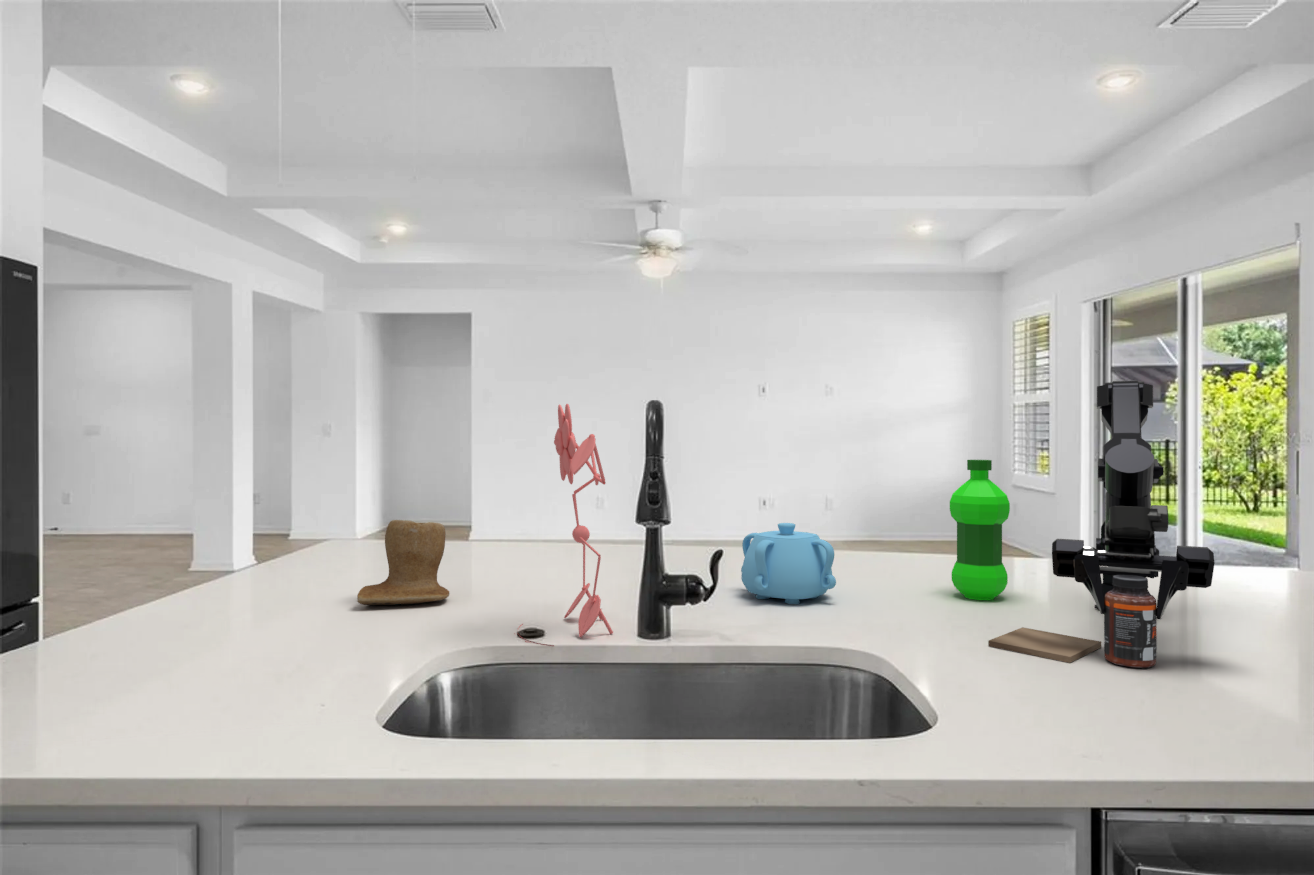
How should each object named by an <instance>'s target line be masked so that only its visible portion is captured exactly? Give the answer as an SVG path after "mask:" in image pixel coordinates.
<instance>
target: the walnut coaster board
mask: <svg viewBox="0 0 1314 875" xmlns="http://www.w3.org/2000/svg"><path fill="white" fill-rule="evenodd" d="M987 642H988V645H987V646H988V647H989V648H995V649H1000V650H1006V651H1010V652H1015V653H1021V654H1025V655H1030V656H1033V657H1039V658H1043V659H1044V658H1045V659H1048V660H1053V661H1054V660H1055V661H1059V662H1064V663H1068V664H1071V663H1073V662H1075V661H1077V660H1080V658H1083V657H1085V656H1086V655H1089V654H1091V653H1093V652H1095V651H1097V650H1099V649H1101V648H1102V641H1100V640H1095V639H1089V638H1085V637H1084V638H1083V637H1078V636H1074V635H1073V636H1072V635H1065V634H1060V633H1055V632H1049V631H1045V630H1038V629H1033V628H1028V627H1023V626H1022V627H1020V628H1017V629H1015V630H1012V631H1009V632H1007V633H1005V634H1002V635H999V636H997V637H994V638H991V639H988V640H987Z"/></svg>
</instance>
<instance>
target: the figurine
mask: <svg viewBox="0 0 1314 875" xmlns="http://www.w3.org/2000/svg"><path fill="white" fill-rule="evenodd" d="M557 420H558V428H557V430H556V432H555V435H554V440H553V444H554V446H555V451H556V453H557V455H558V456H559V471H560V472H559V473H560V478H561V480H562V481H563V482H564V481H565V480H566V478H567V479H568V483H569V484H570V485H573V483H574V476H575V475H576V474H577V473H578V472H579V471H580V470H581V469H582V468H583V467H584V466H585V465H586V466H587V467H588V469H589V470H590V472H591V473H592V475H593V477H592V478H590V480H588V481H587V482H585V483H584V484H582V485H581V486H579V487H578V488H577V489H575V490H573V493H572V494H571V496H572V502H573V510H574V515H575V522H576V526H575V527H574V528H573V530H572V533H571V534H572V538H573V540H574V541H575V542H576V543H578V544H581V545H582V587H581V591H580V592H579V594H577V596H576V598H575V599H574V600H573V602H572V604H571V605H570V607H569V608H568V610H567V611H566V613H565V615H564V617H563V618H564V619H567V618H568V617H569V616H570V615H571V613H573V611H574V610H575V609H576V607H577V606H578V605H579V604H580V601H581V600H582V599H583V597H584V595H586V596H587V597H588V599H587V601H586V602H585V604H584V605H583V607H582V608H581V611H580V613H579V617H578V622H577V623H578V625H577V626H578V635H579V638H583V636H584V635H586V633H587V632H588V631H589V630H590V629H591V628H592V627H593V625H594V624H595V622H596V621H597V619H598V617H599V620H600V621H602V622H603V623H604V625H605V627H606V629H607V631H608V632H609V635H612V634H614V631H613V629H612V627H611V625H610V623H609V622H608V620H607V618H606V616H605V614H604V613H603V611H602V608H601V605H602V604H601V601H602V599H601V598H600V596H599V594H596V589H597V584H598V577H599V571H600V565H601V564H600V563H601V561H602V560H601V559H602V558H601V554H600V553H599V552H598V551H597V550H596V549H594V548H593V546H591V545H590V543H588V542H587V541H588V540H589V539H590V535H591V534H590V533H591V532H590V530H589V528H588V527H586V526H585V525H582V524H581V525H580V522H579V521H580V520H579V514H578V513H579V512H578V504H577V496H576V495H577V494H578V493H579V492H581V491H582V490H583V489H584V488H586V487H588V486H589V485H591V484H592V483H593V482H594V483H595V486H598V485H599V483H601V484H602V485H606V484H607V483H606V477H605V474H604V470H603V466H602V462H601V460H600V455H599V451H598V448H597V444H596V435H595V434H594V433H590V434H589V435H588V437H586V438H585V439H584V440H583V441H582V442H581V443H580V444H578V443H577V441H576V440H577V439H576V437H575V436H576V435H575V434H574V432H573V424H572V422H573V421H572V420H573V419H572V414H571V408H570V405H569V403H566V404H565V406H564V408H563V406H562V405H561V404H559V403H558V406H557ZM590 458H591V463H592V464H591V463H590V461H589V459H590ZM595 460H596V461H595ZM596 465H597V466H596ZM597 468H598V471H599V472H598V471H597ZM586 546H587V547H588V549H590V550H591V551H592V552H593V553H594V554H595V555H596V556H597V563H596V569H595V570H596V571H595V576H594V577H595V578H594V585H593V591H592V594H591V593H590V591H589V588H590V586H591V583H590V582H587V583H586ZM521 626H524V623H522V624H520V625H519V626H518V628H517V631H518V630H519V628H521ZM513 634H514V635H516V633H515V632H513ZM517 635H518V637H520V639H522V640H525V641H524V642H525V643H530V644H532V643H533V644H536V645H542V646H548V647H555V645H553V644H545V643H540V642H535V641H532V640H528V639H527V638H524V637H522V636H521V635H520V634H519V633H517Z"/></svg>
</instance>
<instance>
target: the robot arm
mask: <svg viewBox="0 0 1314 875" xmlns="http://www.w3.org/2000/svg"><path fill="white" fill-rule="evenodd" d="M1153 407H1154V385H1153V384H1149V383H1145V381H1139V380H1113V381H1111V382H1110V381H1109V382H1104V384H1102V385H1098V386H1096V409H1097V410H1100V412H1101V416H1100V417H1101V422H1102V423H1103V425H1104V426H1105V428H1107V430H1108V432H1109V433H1110V434H1111V435H1110V436H1111V437H1110V439H1109V440H1108V441H1106V442H1105V443H1104V444H1103V458H1097V459H1098V460H1097V481H1098V482H1101V483H1102V482H1103V488H1104V489H1105V490H1106V492H1105V495H1104V501H1105V502H1104V512H1105V514H1104V517H1105V518H1104V519H1105V520H1104V522H1103V523H1102V525H1101V526H1100V537H1095V538H1096V540H1095V547H1093V546H1087V545H1086V546H1085V540H1084V539H1069V538H1056V539H1055V540H1054V541H1053V542H1052V544H1051V545H1052V546H1051V558H1052V559H1051V561H1052V575H1055V576H1056V577H1061V578H1072V579H1074V581H1075V582H1077V583H1082V584H1083V585H1084V586H1085V588H1086V590H1087V591H1088V592H1089V593H1090V595H1091V597H1092V598H1093V601H1094V602H1095V604H1094V609H1098V610H1099V612H1100V614H1101V615H1104V614H1105V600H1104V598H1105V594H1106V593H1107V592H1109V591H1111V590H1112V589H1113V588H1114V586H1113V585H1112V583H1113V576H1114V575H1134V576H1141V577H1145V578H1150V579H1155V578H1159V572H1160V579H1159V588H1158V594H1157V599H1156V608H1157V614H1156V615H1157V620H1161V619H1162V617H1163V615H1164V613H1165V611H1166V608H1167V606H1168V605H1169V603H1170V601H1171V599H1172V598H1173V597H1174V596H1175V595H1176V593H1177V592H1178V591H1185V590H1187V587H1190V588H1200V589H1207V588H1209V587H1212V582H1213V577H1214V576H1213V575H1214V571H1215V570H1214V568H1215V563H1216V562H1215V556H1214V551H1212V550H1211V548H1209V547H1208V546H1191V545H1176V555H1175V556H1174V555H1171V556H1170V555H1160V550H1159V549H1158V548H1157V545H1156V540H1155V539H1156V538H1155V532H1159V533H1167V532H1168V530H1169V510H1168V505H1166V504H1165V505H1164V504H1163V505H1161V504H1159V505H1158V504H1152V498H1151V493H1152V491H1153V484H1157V483H1158V482H1159V480H1160V478H1161V477H1162V476H1164V474H1165V473H1164V471H1165V468H1164V466H1162V465H1161V464H1160V462H1159V460H1158V459H1157V458H1155V456H1154V454H1153V452H1152V445H1151V444H1150V443H1149V442H1147V441H1146V440H1145V439H1144V438H1142V428H1143V426H1144V425H1145V424H1146V422H1147V421H1148V416H1149V415H1148V414H1149V409H1153ZM1101 575H1102V576H1101Z"/></svg>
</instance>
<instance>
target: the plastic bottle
mask: <svg viewBox="0 0 1314 875" xmlns="http://www.w3.org/2000/svg"><path fill="white" fill-rule="evenodd" d="M992 462H993V460H992V459H967V461H966V465H967V467H966V468H967V471H969V472H970V475H969V476H970V477H969V479H968V480H967V481H966V482H964V483H963V484H962V485H960V486H959V487H957V489H956V490H955V491H954V492H953V493H952V495H951V497H950V500H949V512H950V516H951V517H952V519H954V521H955V522H956V560H955V562H954V565H953V567H952V570H951V581H952V584H953V586H954V588H955V589H956V590H957V591H958V592H959V593H960V594H961V595H964V596H963V597H964V598H966V599H969V600H975V601H993V600H995V598H996V597H998V596H999V595H1000V594H1002V593H1003V592H1004V591H1005V590H1006V587H1007V585H1008V583H1009V582H1008V578H1009V577H1008V572H1007V570H1006V566H1005V565H1004V563H1003V523H1005V522H1006V521H1007V520H1008V519H1009V516H1010V511H1011V506H1010V505H1011V504H1010V500H1009V498H1008V495H1007V494H1006V493H1005V492H1004V490H1002V489H1001V488H1000V487H999V486H998V485H997V484H995V483H994V482H993V481H992V480H990V478H989V471H992V468H993V467H992V465H993V464H992Z"/></svg>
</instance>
